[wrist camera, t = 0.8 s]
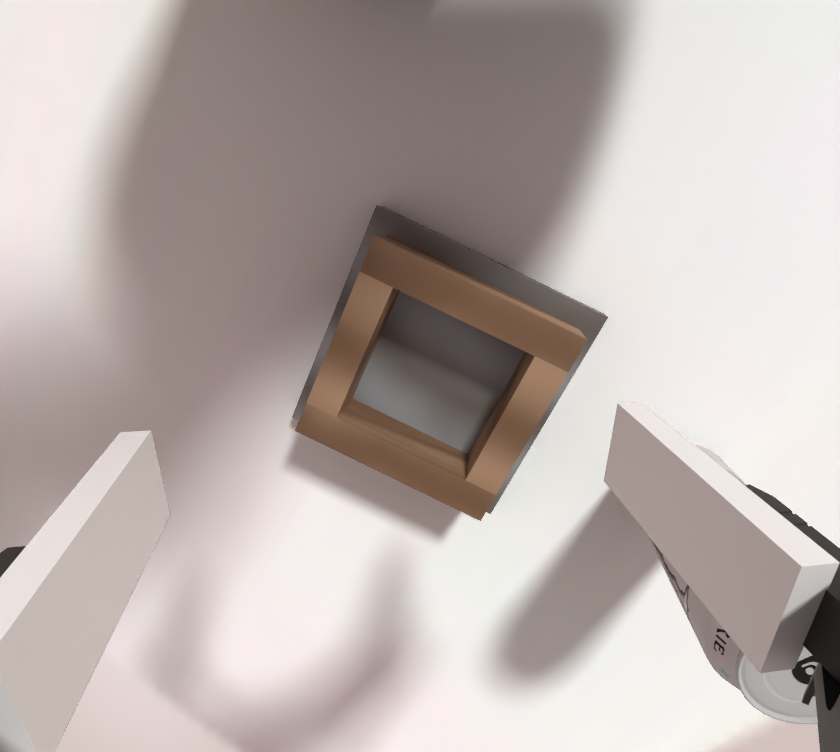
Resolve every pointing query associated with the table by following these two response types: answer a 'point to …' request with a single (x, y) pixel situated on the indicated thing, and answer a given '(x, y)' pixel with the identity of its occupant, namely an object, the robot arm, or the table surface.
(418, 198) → the table surface
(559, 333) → the brown wooden open box
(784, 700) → the energy drink can
